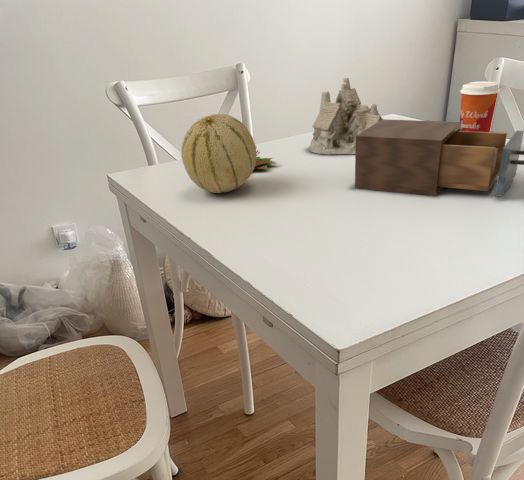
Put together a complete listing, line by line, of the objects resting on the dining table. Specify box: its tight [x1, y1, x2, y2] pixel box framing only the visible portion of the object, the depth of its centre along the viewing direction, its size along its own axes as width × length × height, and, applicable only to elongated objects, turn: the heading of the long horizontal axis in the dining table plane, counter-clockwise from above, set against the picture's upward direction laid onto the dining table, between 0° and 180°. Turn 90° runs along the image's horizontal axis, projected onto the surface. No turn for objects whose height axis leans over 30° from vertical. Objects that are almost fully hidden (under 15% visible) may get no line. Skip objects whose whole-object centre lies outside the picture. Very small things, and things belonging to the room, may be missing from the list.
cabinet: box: [354, 118, 461, 197], centre depth 104 cm, size 16×14×10 cm
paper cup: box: [459, 80, 501, 132], centre depth 114 cm, size 8×8×14 cm
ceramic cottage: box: [309, 77, 383, 155], centre depth 126 cm, size 16×16×15 cm
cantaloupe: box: [180, 113, 257, 194], centre depth 106 cm, size 15×15×15 cm
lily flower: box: [254, 144, 277, 170], centre depth 122 cm, size 12×12×5 cm
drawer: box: [438, 130, 524, 197], centre depth 97 cm, size 19×13×8 cm, turn 60°
